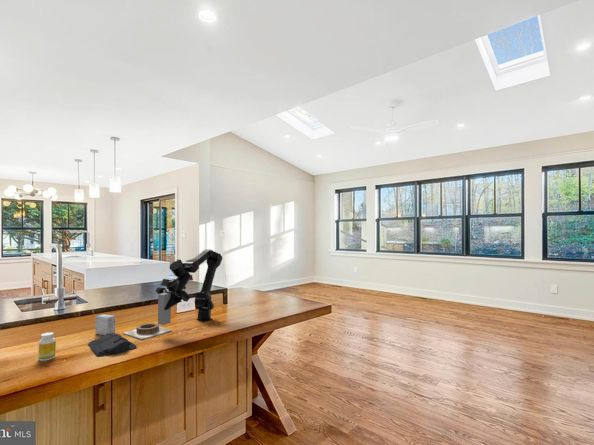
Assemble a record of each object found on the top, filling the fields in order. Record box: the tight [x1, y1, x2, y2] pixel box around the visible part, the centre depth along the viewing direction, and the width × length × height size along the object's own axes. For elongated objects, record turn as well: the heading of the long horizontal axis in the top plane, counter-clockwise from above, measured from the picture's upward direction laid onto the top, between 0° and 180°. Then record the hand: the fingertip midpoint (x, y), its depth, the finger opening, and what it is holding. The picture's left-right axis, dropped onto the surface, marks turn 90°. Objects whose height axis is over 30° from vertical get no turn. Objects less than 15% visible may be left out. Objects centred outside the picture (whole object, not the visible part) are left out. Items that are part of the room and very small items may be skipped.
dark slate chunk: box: [87, 333, 138, 358], centre depth 142 cm, size 15×22×5 cm
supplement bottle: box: [37, 332, 57, 362], centre depth 128 cm, size 5×5×10 cm
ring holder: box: [122, 322, 173, 341], centre depth 161 cm, size 16×16×3 cm
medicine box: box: [94, 314, 116, 336], centre depth 159 cm, size 8×4×9 cm, turn 74°
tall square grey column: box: [157, 293, 172, 326], centre depth 155 cm, size 4×4×14 cm
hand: (162, 309), depth 154 cm, fingers closed on tall square grey column, 4 cm apart
